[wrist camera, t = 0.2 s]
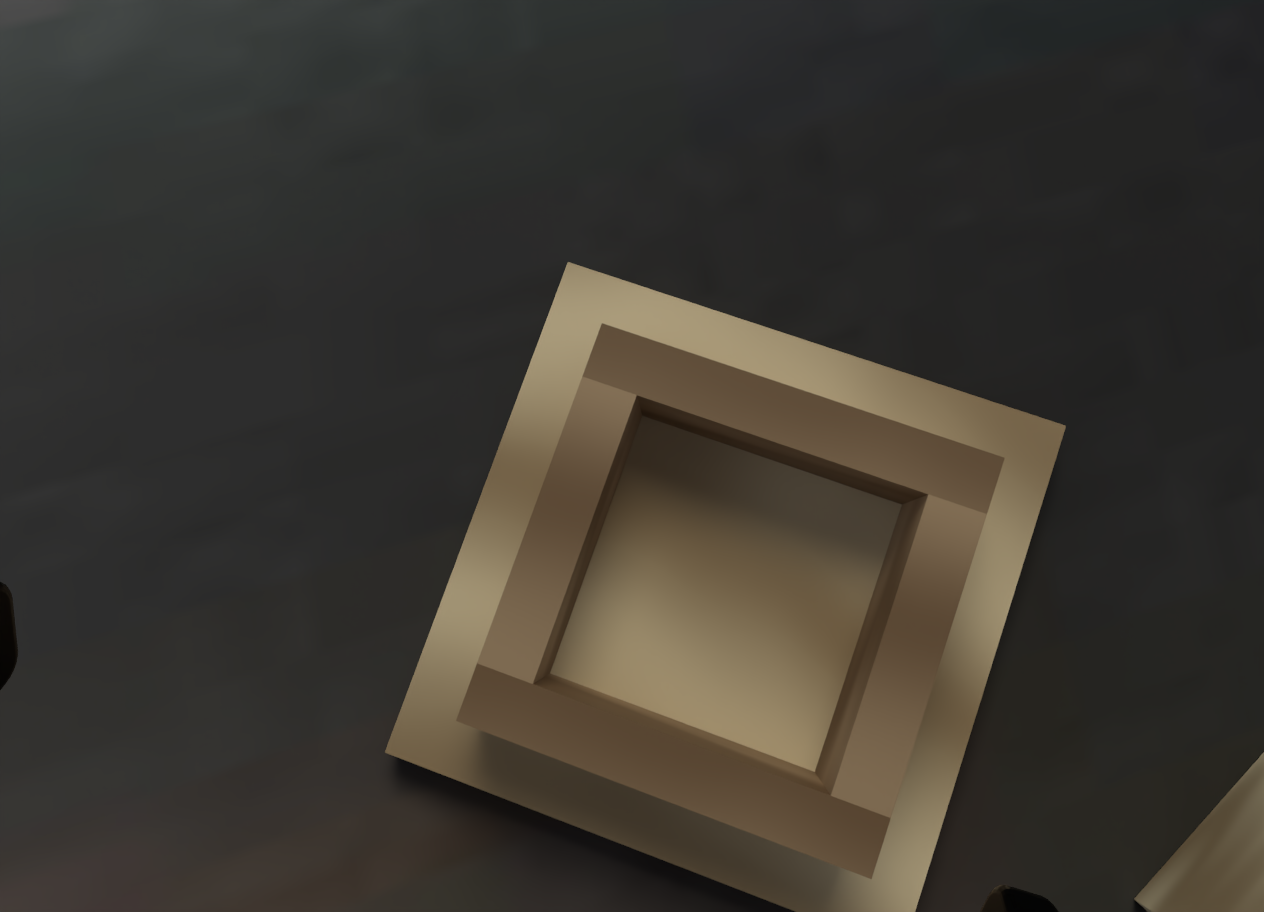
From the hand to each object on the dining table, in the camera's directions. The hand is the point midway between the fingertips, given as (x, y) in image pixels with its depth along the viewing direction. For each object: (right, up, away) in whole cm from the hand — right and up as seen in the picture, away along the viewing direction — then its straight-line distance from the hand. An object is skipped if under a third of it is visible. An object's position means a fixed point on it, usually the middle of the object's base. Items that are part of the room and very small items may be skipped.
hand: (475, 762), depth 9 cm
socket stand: (+4, 0, +15) cm, 15 cm away
